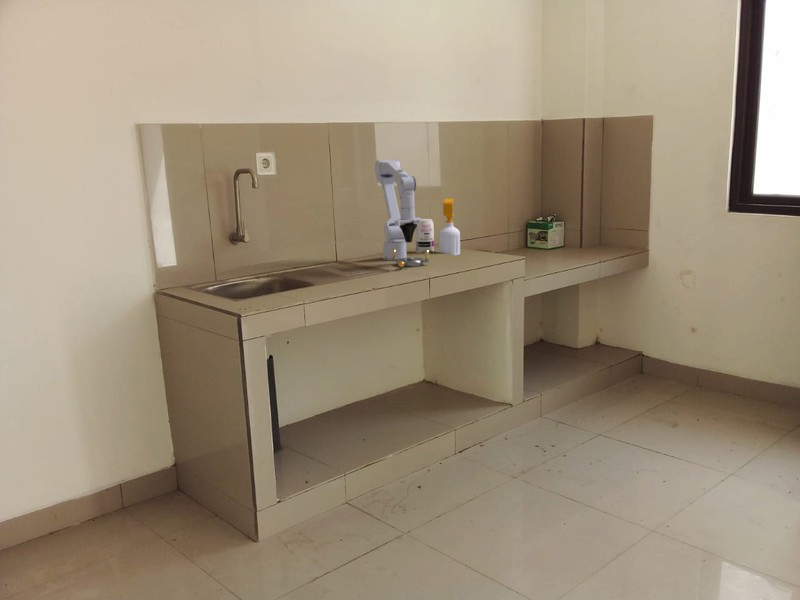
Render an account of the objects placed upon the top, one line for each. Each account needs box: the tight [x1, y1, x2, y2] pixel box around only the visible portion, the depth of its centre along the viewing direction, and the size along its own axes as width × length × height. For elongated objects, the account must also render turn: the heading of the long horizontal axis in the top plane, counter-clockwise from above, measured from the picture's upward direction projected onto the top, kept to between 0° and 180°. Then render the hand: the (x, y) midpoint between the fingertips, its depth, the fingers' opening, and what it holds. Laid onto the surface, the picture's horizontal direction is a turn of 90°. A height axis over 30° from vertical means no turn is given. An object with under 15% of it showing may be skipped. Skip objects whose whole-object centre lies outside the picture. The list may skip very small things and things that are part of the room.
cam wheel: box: [391, 249, 430, 268], centre depth 268 cm, size 16×17×6 cm
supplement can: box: [414, 218, 435, 253], centre depth 307 cm, size 8×8×15 cm
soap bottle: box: [438, 198, 461, 257], centre depth 297 cm, size 9×9×25 cm
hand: (408, 242), depth 270 cm, fingers closed
